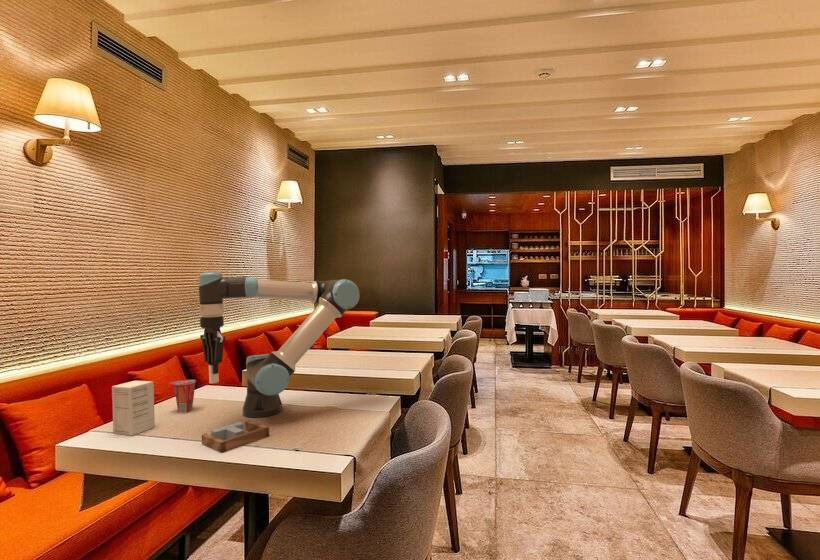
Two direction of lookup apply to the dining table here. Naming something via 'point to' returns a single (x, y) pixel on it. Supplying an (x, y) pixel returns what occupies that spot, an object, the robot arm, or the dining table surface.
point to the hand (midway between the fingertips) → (214, 382)
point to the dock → (237, 437)
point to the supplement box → (133, 407)
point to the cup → (184, 394)
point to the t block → (228, 431)
